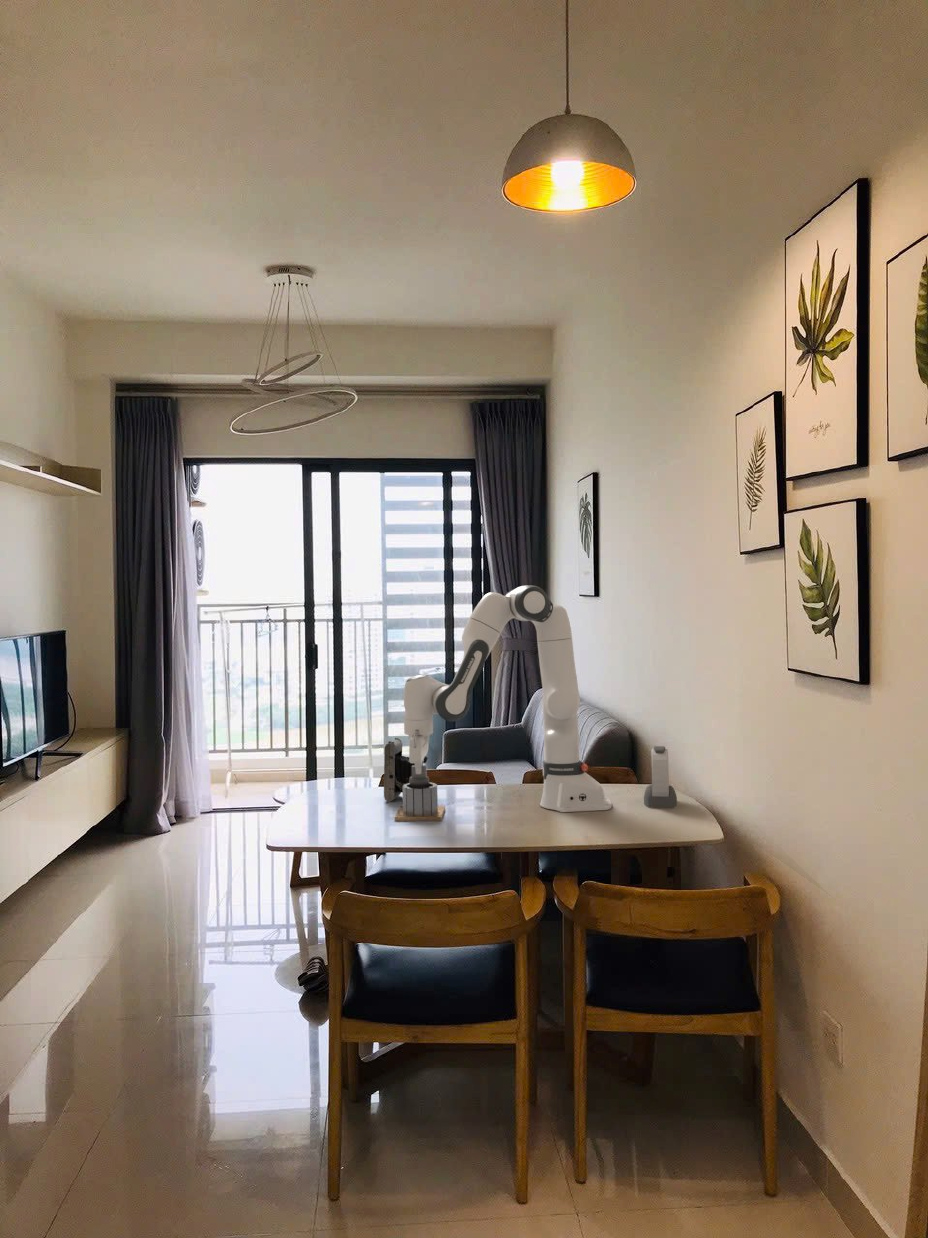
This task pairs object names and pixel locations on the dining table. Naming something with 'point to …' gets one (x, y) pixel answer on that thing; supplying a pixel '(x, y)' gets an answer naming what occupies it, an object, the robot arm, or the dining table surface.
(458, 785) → the dining table surface
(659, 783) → the grey piece
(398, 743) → the vintage camera
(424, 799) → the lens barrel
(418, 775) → the rotary knob
